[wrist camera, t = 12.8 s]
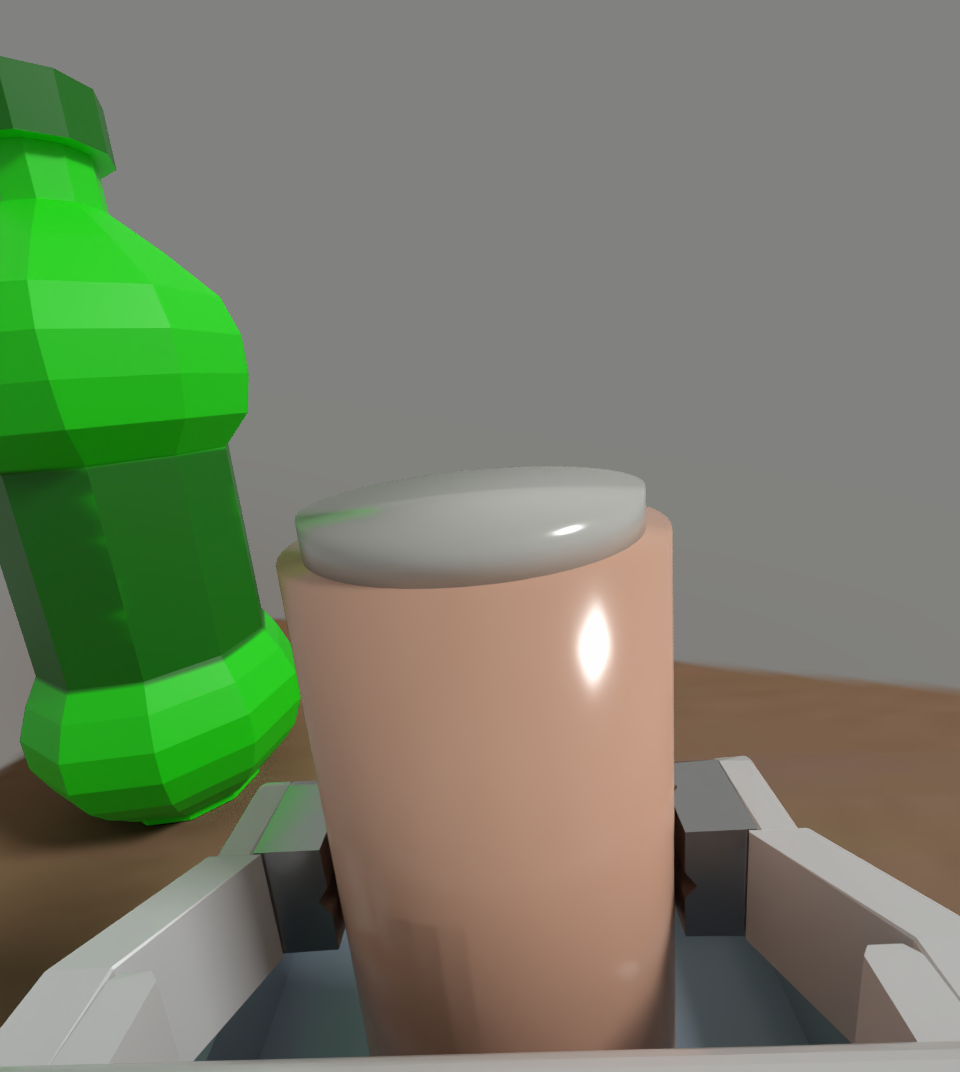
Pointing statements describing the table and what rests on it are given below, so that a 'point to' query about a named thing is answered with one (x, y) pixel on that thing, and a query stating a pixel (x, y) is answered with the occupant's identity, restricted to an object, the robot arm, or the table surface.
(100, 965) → the robot arm
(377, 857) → the pink cylindrical can
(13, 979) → the table surface
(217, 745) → the plastic bottle
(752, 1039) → the shallow grey tray
